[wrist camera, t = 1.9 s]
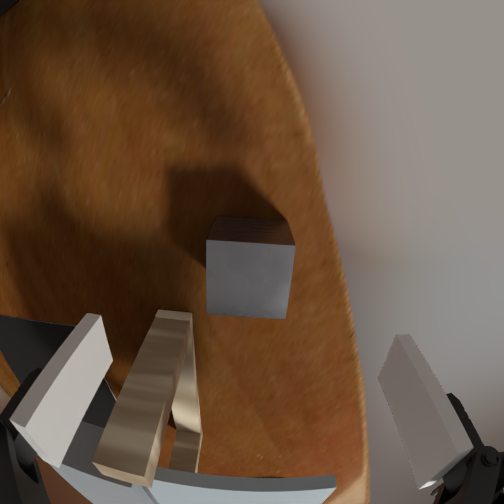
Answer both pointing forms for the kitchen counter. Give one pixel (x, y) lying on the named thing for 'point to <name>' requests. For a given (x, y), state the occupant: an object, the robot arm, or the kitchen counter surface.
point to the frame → (155, 406)
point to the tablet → (46, 358)
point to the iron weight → (249, 267)
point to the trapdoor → (181, 482)
